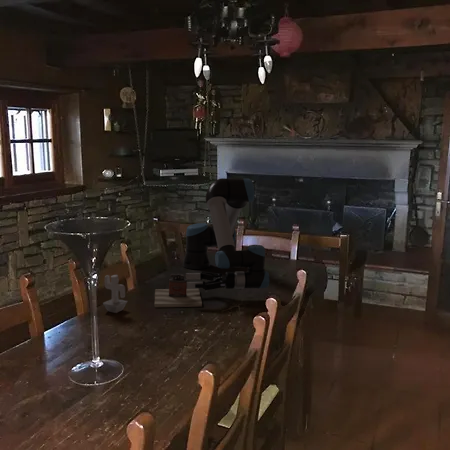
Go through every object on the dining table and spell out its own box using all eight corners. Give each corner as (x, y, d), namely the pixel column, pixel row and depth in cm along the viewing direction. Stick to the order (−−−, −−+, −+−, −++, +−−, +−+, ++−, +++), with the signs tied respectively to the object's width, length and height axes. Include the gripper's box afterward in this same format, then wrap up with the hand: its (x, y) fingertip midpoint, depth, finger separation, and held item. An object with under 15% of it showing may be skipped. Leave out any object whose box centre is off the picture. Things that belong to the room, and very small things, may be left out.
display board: (155, 292, 232) (155, 289, 231) (198, 291, 234) (198, 288, 234) (154, 307, 212) (154, 303, 212) (201, 306, 215) (201, 303, 214)
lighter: (187, 294, 224) (187, 273, 223) (186, 297, 221) (186, 275, 219) (169, 294, 225) (169, 272, 223) (168, 296, 221) (168, 274, 220)
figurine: (118, 315, 202) (118, 279, 199) (100, 311, 206) (99, 275, 203) (129, 309, 208) (129, 275, 206) (111, 306, 212) (111, 271, 210)
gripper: (237, 297, 213) (187, 298, 210) (230, 280, 237) (185, 280, 235) (238, 280, 211) (187, 280, 209) (231, 264, 236) (185, 265, 233)
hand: (186, 280), depth 222 cm, fingers open, 13 cm apart
